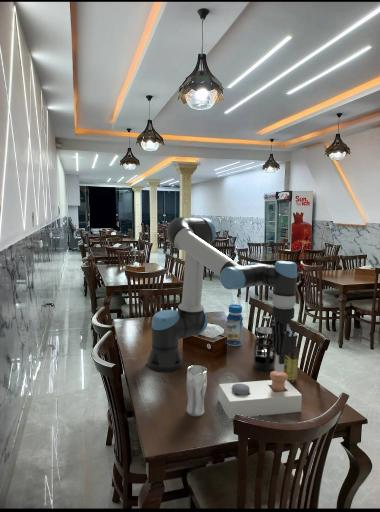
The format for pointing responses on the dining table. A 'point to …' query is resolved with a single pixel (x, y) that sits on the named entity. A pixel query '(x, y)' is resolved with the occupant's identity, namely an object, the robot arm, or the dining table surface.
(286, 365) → the sauce bottle
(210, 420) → the dining table surface
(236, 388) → the grey plug
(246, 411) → the block
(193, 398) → the beer glass
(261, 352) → the french press
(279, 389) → the terracotta plug
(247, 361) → the dining table surface
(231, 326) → the beverage bottle
